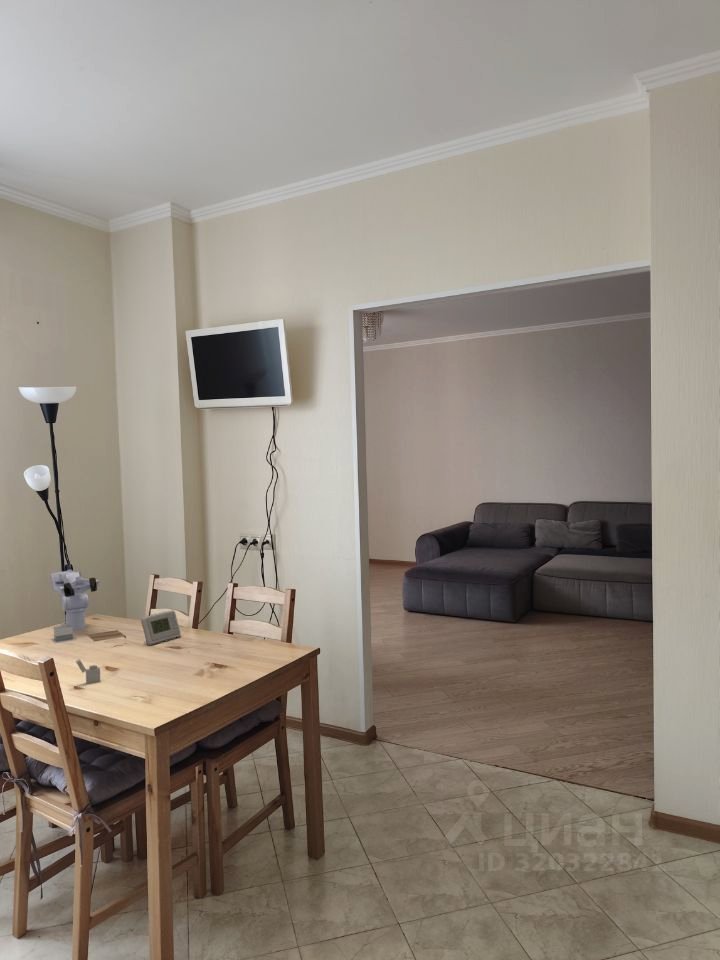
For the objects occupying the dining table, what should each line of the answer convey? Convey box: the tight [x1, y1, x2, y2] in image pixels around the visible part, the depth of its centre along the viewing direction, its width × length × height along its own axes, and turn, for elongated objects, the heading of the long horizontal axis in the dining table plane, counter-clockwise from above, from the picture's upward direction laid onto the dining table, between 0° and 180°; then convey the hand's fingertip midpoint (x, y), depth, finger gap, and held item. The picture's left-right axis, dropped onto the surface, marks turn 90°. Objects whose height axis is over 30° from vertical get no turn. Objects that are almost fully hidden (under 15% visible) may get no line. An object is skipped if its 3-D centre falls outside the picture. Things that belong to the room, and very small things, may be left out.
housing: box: [53, 624, 74, 642], centre depth 270 cm, size 4×6×5 cm, turn 125°
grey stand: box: [50, 636, 77, 644], centre depth 270 cm, size 8×8×2 cm
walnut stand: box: [87, 630, 127, 642], centre depth 275 cm, size 12×12×2 cm
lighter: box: [75, 658, 101, 684], centre depth 222 cm, size 7×2×8 cm, turn 121°
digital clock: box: [140, 609, 181, 646], centre depth 272 cm, size 16×9×11 cm, turn 134°
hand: (83, 590), depth 270 cm, fingers open, 7 cm apart
